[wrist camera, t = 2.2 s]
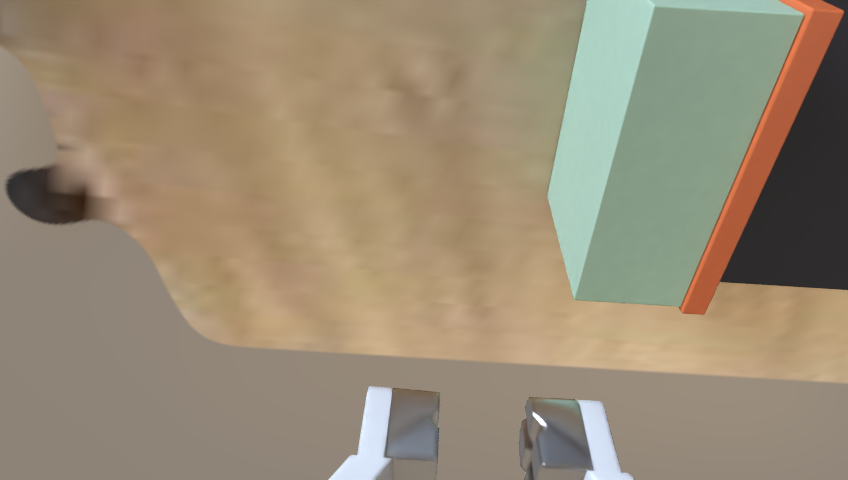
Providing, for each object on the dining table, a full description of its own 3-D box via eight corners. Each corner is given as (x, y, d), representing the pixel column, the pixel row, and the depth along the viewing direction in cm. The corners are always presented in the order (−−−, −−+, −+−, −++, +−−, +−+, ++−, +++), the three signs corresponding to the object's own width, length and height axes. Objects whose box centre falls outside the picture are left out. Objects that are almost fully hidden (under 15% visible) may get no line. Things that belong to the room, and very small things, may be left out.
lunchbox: (545, 205, 31) (571, 314, 24) (599, -62, 24) (661, -16, 17) (646, 211, 31) (701, 322, 24) (734, -54, 24) (853, -4, 16)
